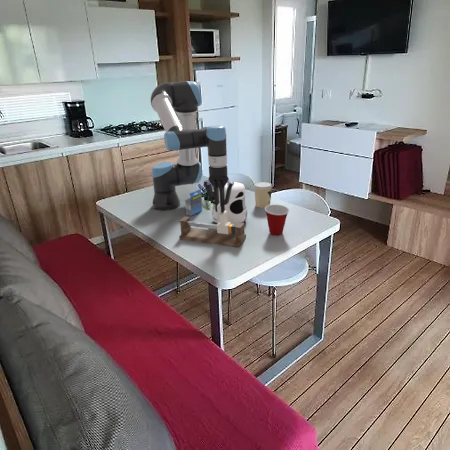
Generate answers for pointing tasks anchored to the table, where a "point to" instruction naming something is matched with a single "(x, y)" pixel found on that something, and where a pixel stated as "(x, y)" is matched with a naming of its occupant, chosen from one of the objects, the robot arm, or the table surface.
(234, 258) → the table surface
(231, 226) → the metal rail
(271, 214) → the plastic cup
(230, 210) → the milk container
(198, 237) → the wooden rail holder
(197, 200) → the label tape box
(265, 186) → the coffee cup
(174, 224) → the table surface
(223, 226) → the cream stepped block
